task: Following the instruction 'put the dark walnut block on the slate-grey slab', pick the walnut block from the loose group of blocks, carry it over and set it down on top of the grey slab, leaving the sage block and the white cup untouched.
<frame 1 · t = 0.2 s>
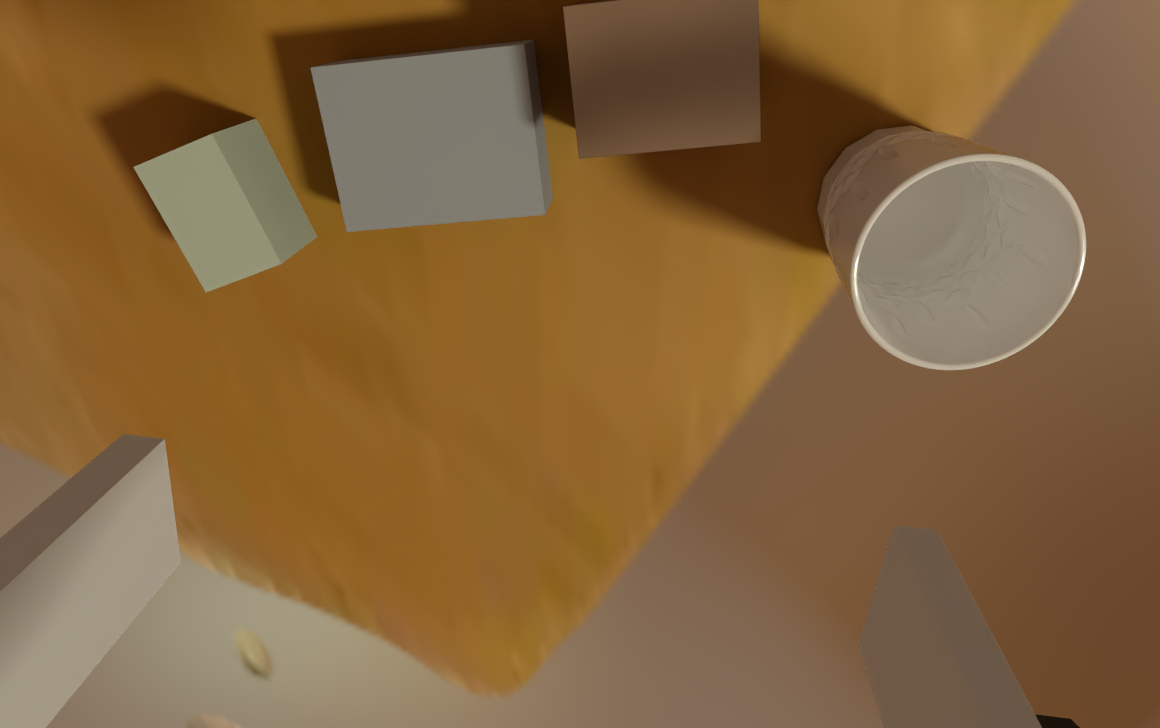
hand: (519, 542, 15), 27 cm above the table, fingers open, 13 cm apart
walnut block: (662, 62, 37), on the table
sage block: (253, 192, 41), on the table
grey slab: (448, 130, 39), on the table
white cup: (890, 199, 39), on the table
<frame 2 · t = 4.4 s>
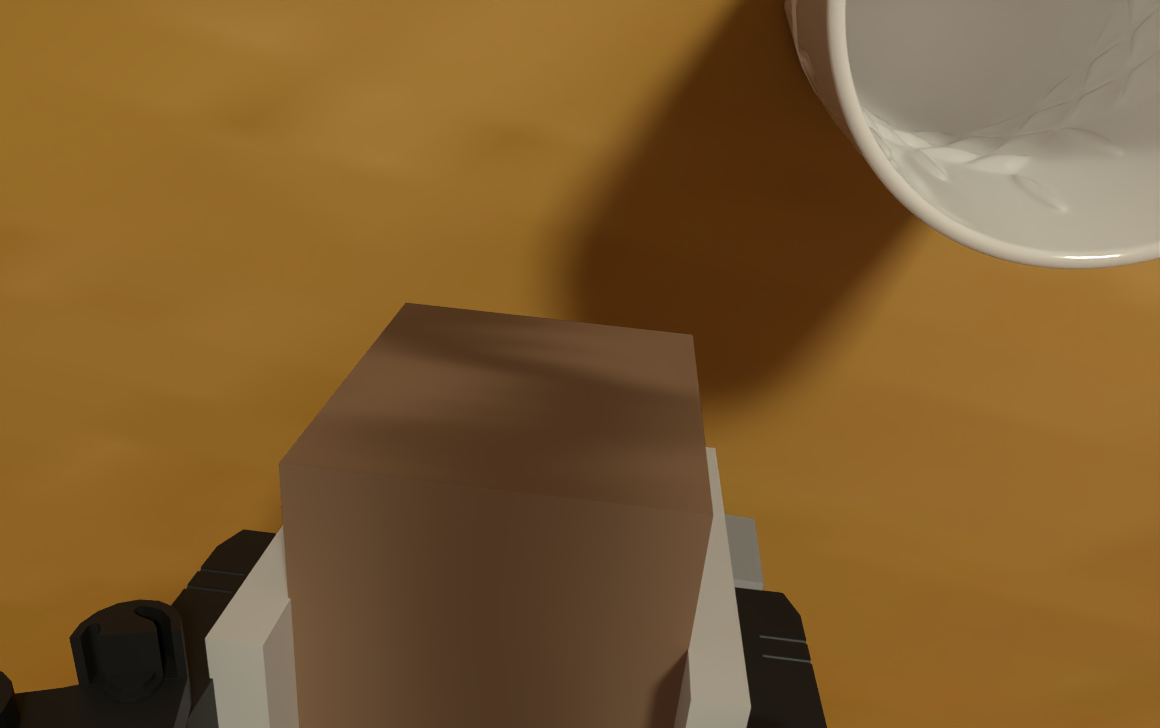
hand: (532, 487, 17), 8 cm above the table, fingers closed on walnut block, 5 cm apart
walnut block: (536, 475, 17), point 8 cm above the table, touching gripper
grey slab: (626, 607, 29), on the table
when the fingers open (4 cm above the table, at t = 7.7 s): walnut block stays where it is, point 3 cm above the table.
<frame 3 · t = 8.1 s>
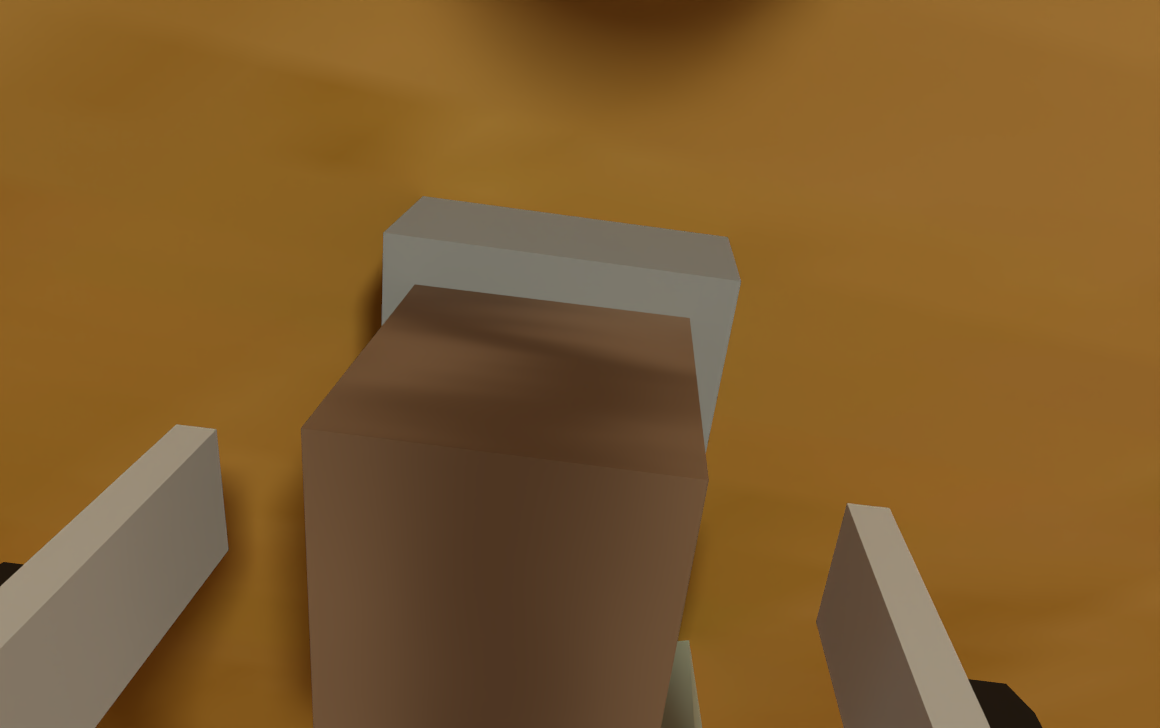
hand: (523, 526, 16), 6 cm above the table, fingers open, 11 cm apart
walnut block: (537, 453, 18), point 3 cm above the table
sage block: (596, 697, 25), on the table
grey slab: (556, 385, 21), on the table
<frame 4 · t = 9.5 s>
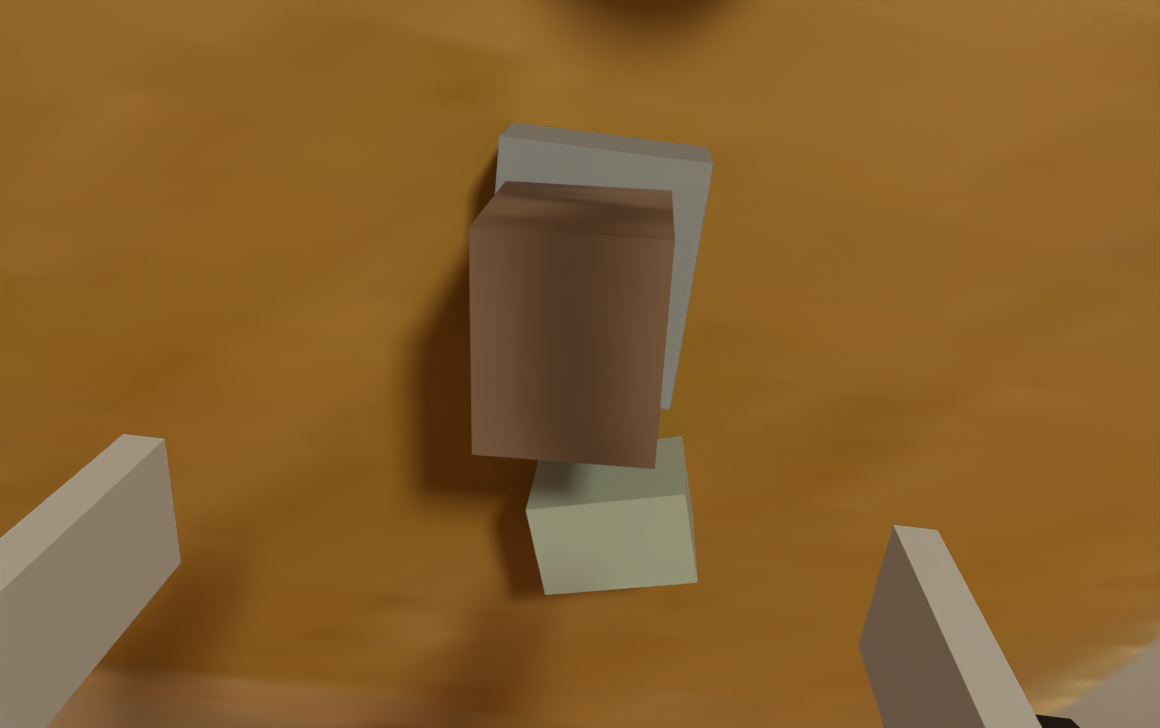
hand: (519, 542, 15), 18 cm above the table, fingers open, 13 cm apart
walnut block: (583, 286, 29), point 3 cm above the table
sage block: (617, 483, 36), on the table
grey slab: (595, 252, 32), on the table
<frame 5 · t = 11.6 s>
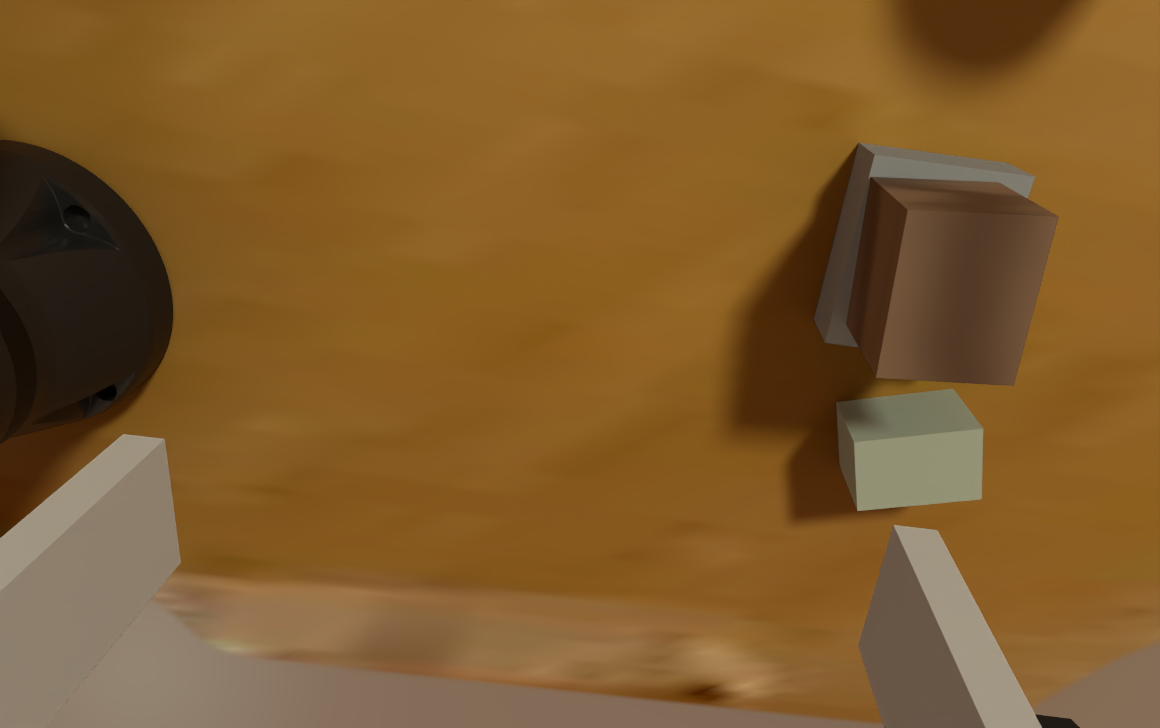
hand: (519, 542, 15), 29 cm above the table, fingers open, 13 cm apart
walnut block: (919, 256, 38), point 3 cm above the table
sage block: (894, 427, 46), on the table
grey slab: (903, 242, 42), on the table
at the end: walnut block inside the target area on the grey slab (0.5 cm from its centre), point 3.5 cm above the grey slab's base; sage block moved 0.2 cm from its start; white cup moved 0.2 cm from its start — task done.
